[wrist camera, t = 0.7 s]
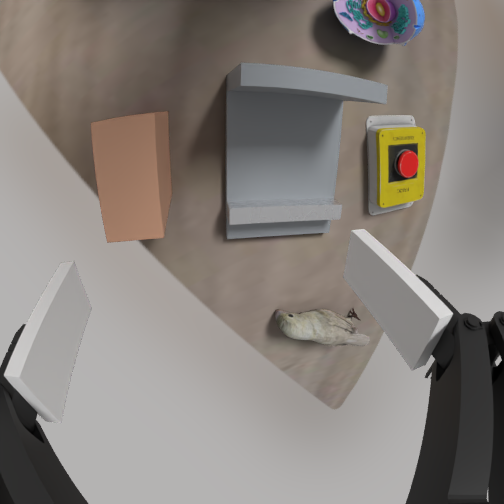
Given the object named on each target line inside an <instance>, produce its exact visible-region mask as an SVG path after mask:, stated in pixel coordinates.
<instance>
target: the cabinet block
mask: <svg viewBox="0 0 504 504" xmlns="http://www.w3.org/2000/svg"><path fill="white" fill-rule="evenodd" d="M91 132H92V145H93V156H94V165H95V173H96V181H97V188H98V195H99V201H100V207H101V213H102V218H103V223H104V229H105V233H106V238H107V242H120V241H132V240H143V239H155V238H164V234H165V229H166V223H167V218H168V212H169V207H170V202H171V197H172V185H171V169H170V150H169V119H168V111H164V112H154V113H145V114H137V115H129V116H123V117H117V118H111V119H106V120H101V121H96V122H92V123H91Z"/></svg>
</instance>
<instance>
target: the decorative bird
mask: <svg viewBox="0 0 504 504" xmlns="http://www.w3.org/2000/svg"><path fill="white" fill-rule="evenodd" d="M350 313H351V314H352V315H351V316H348V317H350V318H345V317H343V316H341V315H340V314H338V313H335V312H333V311H330V310H326V309H316V310H313V311H309V312H305V313H300V314H296V313H289V312H286V311H283V310H276V311H275V317H276V321H277V324H278V327H279V328H280V330H281V331H282V332H283V333H284V334H285V335H286V336H288V337H290V338H293V339H298V340H312V341H315V342H317V343H320V344H323V345H327V346H343V345H352V346H365V345H368V344H369V342H370V341H369V339H370V337H369V336H365V335H364V334H358V330H357V328H356V326H355V325H354V324H353V323H352V322H351V320H352V317H356V318H357V319H358V320H360V319H359V318H358V317H357V314H356V313H355V312H354V309H353V313H352V312H351V311H350Z"/></svg>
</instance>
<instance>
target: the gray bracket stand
mask: <svg viewBox="0 0 504 504" xmlns="http://www.w3.org/2000/svg"><path fill="white" fill-rule="evenodd" d="M343 101H358V102H370V103H380V104H386V101H387V85H385V84H381V83H377V82H374V81H370V80H365V79H361V78H357V77H352V76H348V75H343V74H338V73H332V72H327V71H321V70H314V69H308V68H300V67H292V66H283V65H272V64H257V63H240V64H239V65H238V66H237V67H236V68H235V69H233V70H232V71H231V72H230V73H229V74H228V75H227V78H226V236H227V239H235V238H250V237H265V236H280V235H296V234H312V233H329V229H330V222H331V220H311V221H289V222H270V223H252V224H236V225H230V224H229V221H228V218H227V201H245V200H270V199H313V198H334V193H335V185H336V177H337V168H338V159H339V149H340V138H341V126H342V112H343Z"/></svg>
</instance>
